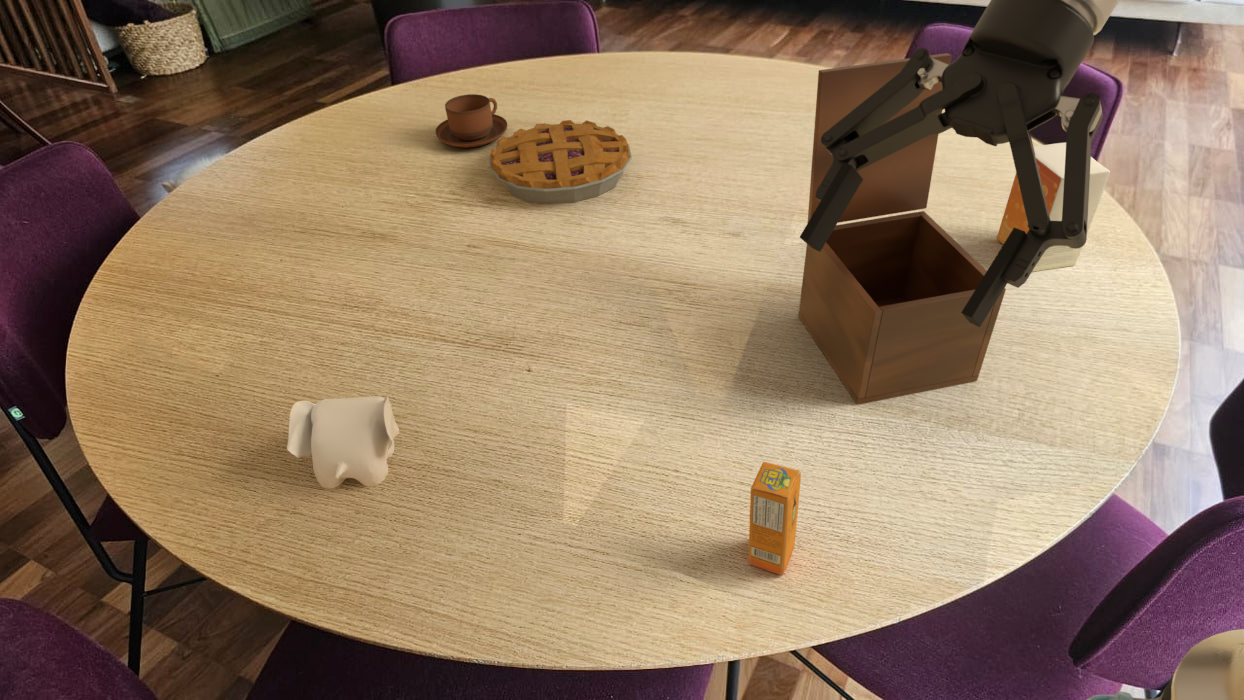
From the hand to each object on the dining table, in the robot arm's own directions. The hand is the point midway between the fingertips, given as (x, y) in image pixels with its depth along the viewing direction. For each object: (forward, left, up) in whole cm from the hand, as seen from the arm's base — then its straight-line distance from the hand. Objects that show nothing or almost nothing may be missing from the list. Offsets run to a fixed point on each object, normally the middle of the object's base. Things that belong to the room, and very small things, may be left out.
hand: (884, 280), depth 59 cm
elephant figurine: (+42, +18, -24) cm, 52 cm away
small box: (-10, -49, -24) cm, 56 cm away
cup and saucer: (+78, -47, -24) cm, 95 cm away
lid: (+8, -28, -3) cm, 30 cm away
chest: (+2, -22, -24) cm, 33 cm away
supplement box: (+3, +10, -24) cm, 26 cm away
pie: (+57, -42, -24) cm, 75 cm away
